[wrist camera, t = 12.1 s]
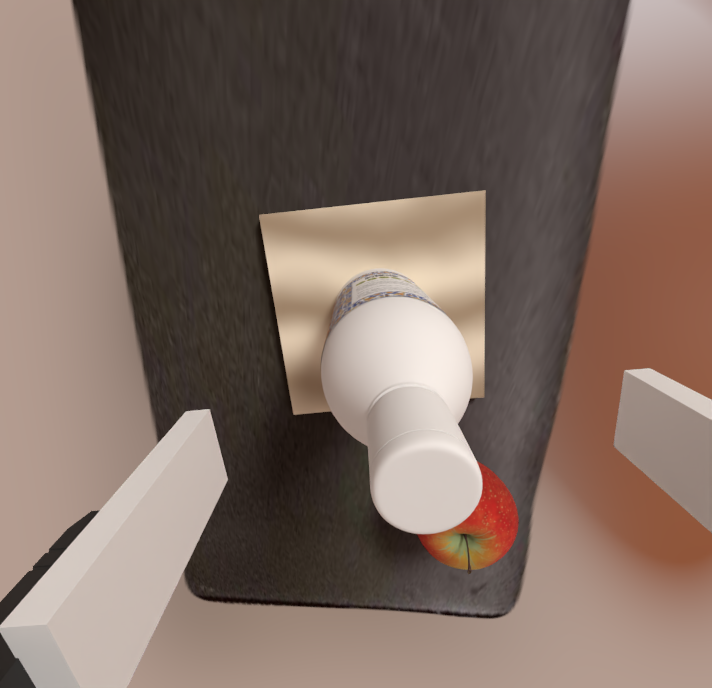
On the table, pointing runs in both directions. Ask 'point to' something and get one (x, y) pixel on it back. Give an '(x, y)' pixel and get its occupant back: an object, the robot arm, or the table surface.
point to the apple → (478, 529)
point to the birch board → (370, 251)
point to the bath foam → (403, 399)
